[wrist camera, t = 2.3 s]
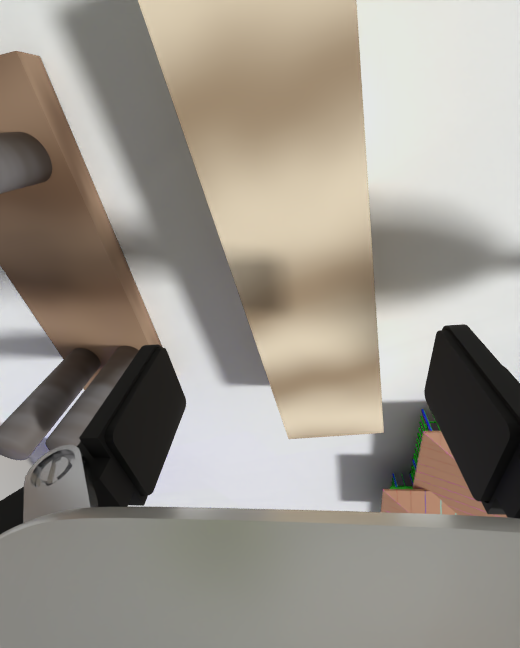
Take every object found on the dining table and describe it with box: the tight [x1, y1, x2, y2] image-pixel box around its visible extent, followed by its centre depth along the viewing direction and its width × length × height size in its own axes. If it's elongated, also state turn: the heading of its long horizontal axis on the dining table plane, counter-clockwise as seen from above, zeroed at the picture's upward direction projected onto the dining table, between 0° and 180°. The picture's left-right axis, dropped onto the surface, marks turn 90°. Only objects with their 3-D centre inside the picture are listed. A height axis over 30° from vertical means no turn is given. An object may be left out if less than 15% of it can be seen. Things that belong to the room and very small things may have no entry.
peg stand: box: [0, 51, 163, 460], centre depth 18 cm, size 22×8×10 cm, turn 8°
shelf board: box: [138, 0, 384, 439], centre depth 17 cm, size 24×6×6 cm, turn 15°
